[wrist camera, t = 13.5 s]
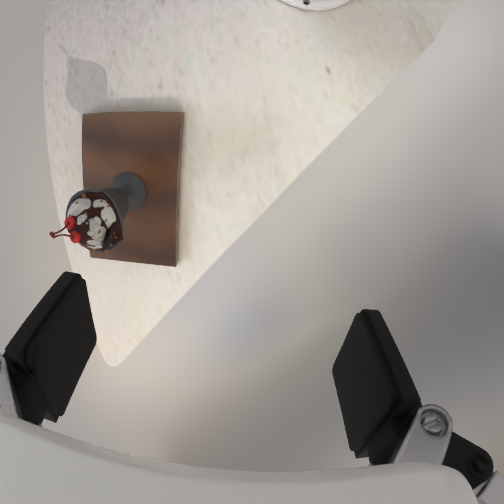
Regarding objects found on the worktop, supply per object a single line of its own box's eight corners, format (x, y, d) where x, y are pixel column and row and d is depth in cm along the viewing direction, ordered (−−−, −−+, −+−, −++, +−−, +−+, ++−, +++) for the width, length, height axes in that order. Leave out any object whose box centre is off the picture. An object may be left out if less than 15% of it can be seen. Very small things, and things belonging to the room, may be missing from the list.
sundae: (98, 173, 35) (29, 216, 22) (145, 160, 34) (87, 198, 21) (112, 220, 38) (56, 281, 25) (158, 210, 37) (113, 272, 24)
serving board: (87, 113, 33) (82, 114, 31) (184, 112, 33) (181, 112, 32) (94, 252, 42) (90, 257, 40) (178, 261, 42) (175, 266, 41)
